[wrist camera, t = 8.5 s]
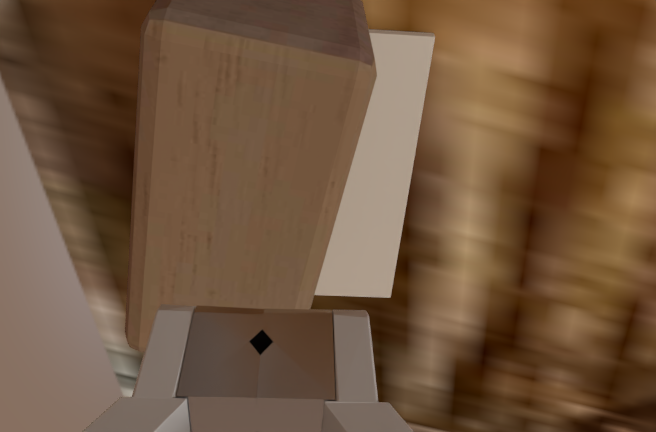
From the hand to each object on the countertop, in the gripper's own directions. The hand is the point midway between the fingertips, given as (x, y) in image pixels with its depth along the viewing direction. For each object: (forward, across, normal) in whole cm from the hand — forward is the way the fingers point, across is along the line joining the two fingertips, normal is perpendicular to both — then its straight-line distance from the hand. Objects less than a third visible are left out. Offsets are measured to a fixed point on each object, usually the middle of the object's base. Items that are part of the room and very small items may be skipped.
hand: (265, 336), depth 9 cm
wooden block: (+23, +1, +2) cm, 23 cm away
